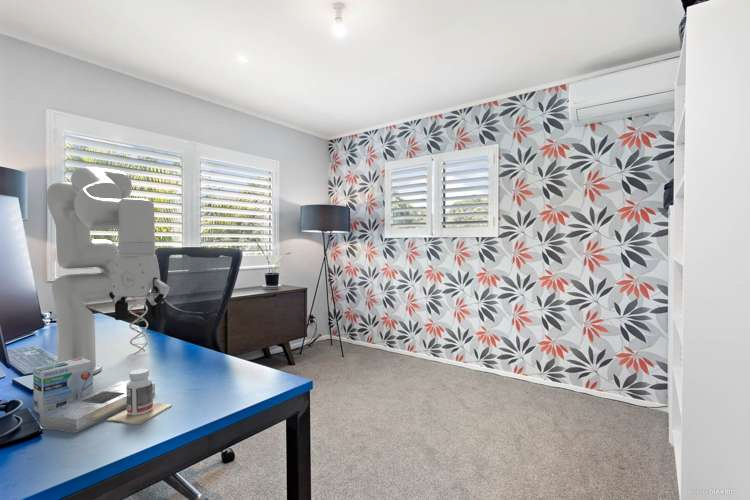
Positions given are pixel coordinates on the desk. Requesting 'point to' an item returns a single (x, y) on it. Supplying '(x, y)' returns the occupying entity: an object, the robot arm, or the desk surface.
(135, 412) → the pill bottle
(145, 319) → the dna model
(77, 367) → the light bulb box
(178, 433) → the desk surface
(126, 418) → the wooden pad
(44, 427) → the white slotted slab
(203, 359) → the desk surface
